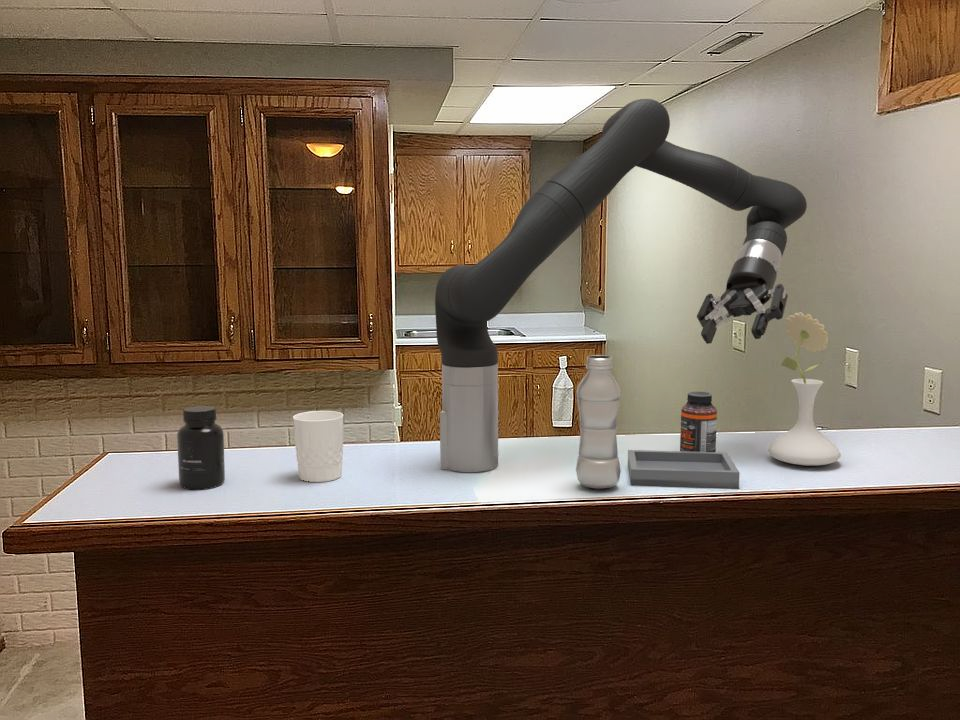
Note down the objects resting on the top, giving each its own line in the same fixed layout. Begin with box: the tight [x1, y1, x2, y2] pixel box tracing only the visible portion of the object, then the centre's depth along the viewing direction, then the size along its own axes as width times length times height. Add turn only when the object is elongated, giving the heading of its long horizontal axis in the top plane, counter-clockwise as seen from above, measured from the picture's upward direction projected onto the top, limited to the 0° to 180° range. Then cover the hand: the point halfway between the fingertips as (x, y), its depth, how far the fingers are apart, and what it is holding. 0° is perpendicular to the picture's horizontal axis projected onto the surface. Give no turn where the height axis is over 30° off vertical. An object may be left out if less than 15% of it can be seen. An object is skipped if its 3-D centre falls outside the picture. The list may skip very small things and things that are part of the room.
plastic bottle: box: [575, 354, 622, 489], centre depth 125 cm, size 6×7×20 cm
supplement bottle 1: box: [176, 405, 226, 490], centre depth 129 cm, size 7×7×12 cm
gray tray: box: [627, 449, 740, 490], centre depth 132 cm, size 16×12×2 cm
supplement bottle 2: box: [679, 391, 718, 452], centre depth 142 cm, size 6×6×11 cm
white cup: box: [292, 410, 345, 483], centre depth 133 cm, size 8×8×10 cm
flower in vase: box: [767, 311, 842, 466], centre depth 139 cm, size 13×11×25 cm
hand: (730, 337), depth 136 cm, fingers open, 8 cm apart
